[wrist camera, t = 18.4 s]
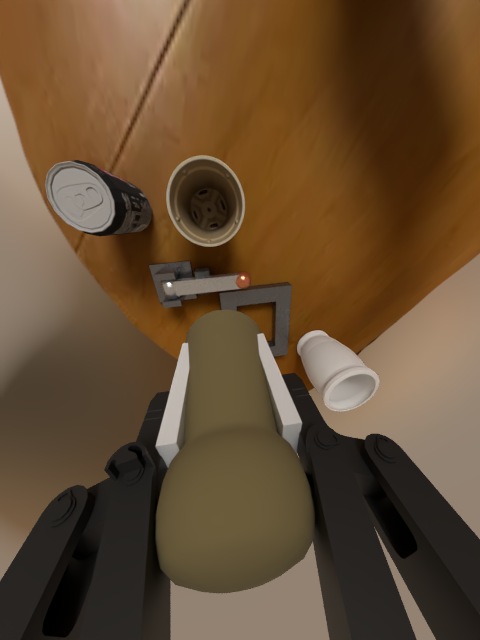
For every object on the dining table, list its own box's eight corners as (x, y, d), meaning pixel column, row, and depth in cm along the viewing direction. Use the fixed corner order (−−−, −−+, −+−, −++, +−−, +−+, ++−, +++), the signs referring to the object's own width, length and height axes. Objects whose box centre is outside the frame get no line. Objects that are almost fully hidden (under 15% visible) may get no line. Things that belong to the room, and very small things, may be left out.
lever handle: (167, 294, 33) (163, 300, 30) (162, 277, 31) (158, 282, 29) (249, 285, 34) (252, 290, 31) (249, 268, 32) (252, 272, 30)
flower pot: (209, 253, 33) (207, 262, 25) (166, 206, 29) (148, 200, 21) (248, 213, 31) (260, 210, 23) (208, 157, 27) (205, 131, 19)
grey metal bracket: (150, 264, 32) (138, 271, 28) (190, 260, 33) (185, 266, 28) (161, 300, 36) (152, 313, 31) (197, 296, 36) (194, 308, 31)
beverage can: (96, 193, 27) (20, 173, 17) (136, 174, 27) (85, 142, 16) (125, 238, 30) (77, 246, 20) (161, 223, 30) (132, 222, 19)
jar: (301, 323, 42) (340, 367, 29) (339, 328, 44) (392, 372, 31) (286, 359, 47) (315, 411, 34) (321, 362, 49) (361, 413, 36)
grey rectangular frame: (219, 289, 36) (219, 293, 34) (287, 282, 37) (291, 285, 35) (227, 356, 44) (228, 363, 42) (284, 349, 45) (287, 354, 43)
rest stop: (196, 268, 34) (194, 272, 31) (209, 267, 34) (208, 271, 31) (199, 289, 36) (198, 294, 33) (212, 287, 36) (212, 293, 33)
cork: (275, 325, 14) (401, 541, 5) (242, 379, 17) (279, 598, 7) (201, 297, 12) (152, 550, 3) (175, 362, 15) (100, 624, 5)
